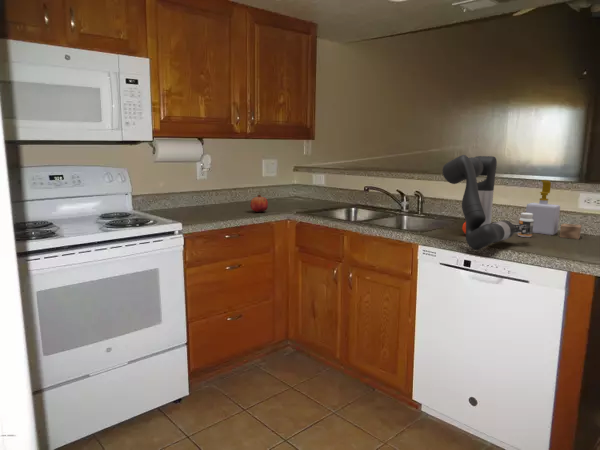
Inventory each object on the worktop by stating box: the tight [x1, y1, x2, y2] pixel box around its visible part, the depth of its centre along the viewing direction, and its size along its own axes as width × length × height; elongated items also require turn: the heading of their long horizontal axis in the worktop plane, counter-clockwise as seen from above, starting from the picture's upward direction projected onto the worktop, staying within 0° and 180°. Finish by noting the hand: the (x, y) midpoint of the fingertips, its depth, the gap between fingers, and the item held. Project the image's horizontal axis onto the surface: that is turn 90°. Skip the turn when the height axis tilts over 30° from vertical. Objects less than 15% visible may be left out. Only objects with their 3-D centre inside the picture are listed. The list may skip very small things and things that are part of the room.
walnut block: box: [559, 223, 582, 240], centre depth 190 cm, size 7×7×5 cm
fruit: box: [250, 194, 269, 213], centre depth 255 cm, size 11×10×10 cm
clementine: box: [461, 221, 466, 235], centre depth 192 cm, size 8×7×7 cm
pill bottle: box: [517, 212, 534, 238], centre depth 191 cm, size 6×6×10 cm
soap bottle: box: [525, 179, 561, 236], centre depth 198 cm, size 12×7×23 cm, turn 45°
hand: (516, 225), depth 183 cm, fingers open, 8 cm apart
